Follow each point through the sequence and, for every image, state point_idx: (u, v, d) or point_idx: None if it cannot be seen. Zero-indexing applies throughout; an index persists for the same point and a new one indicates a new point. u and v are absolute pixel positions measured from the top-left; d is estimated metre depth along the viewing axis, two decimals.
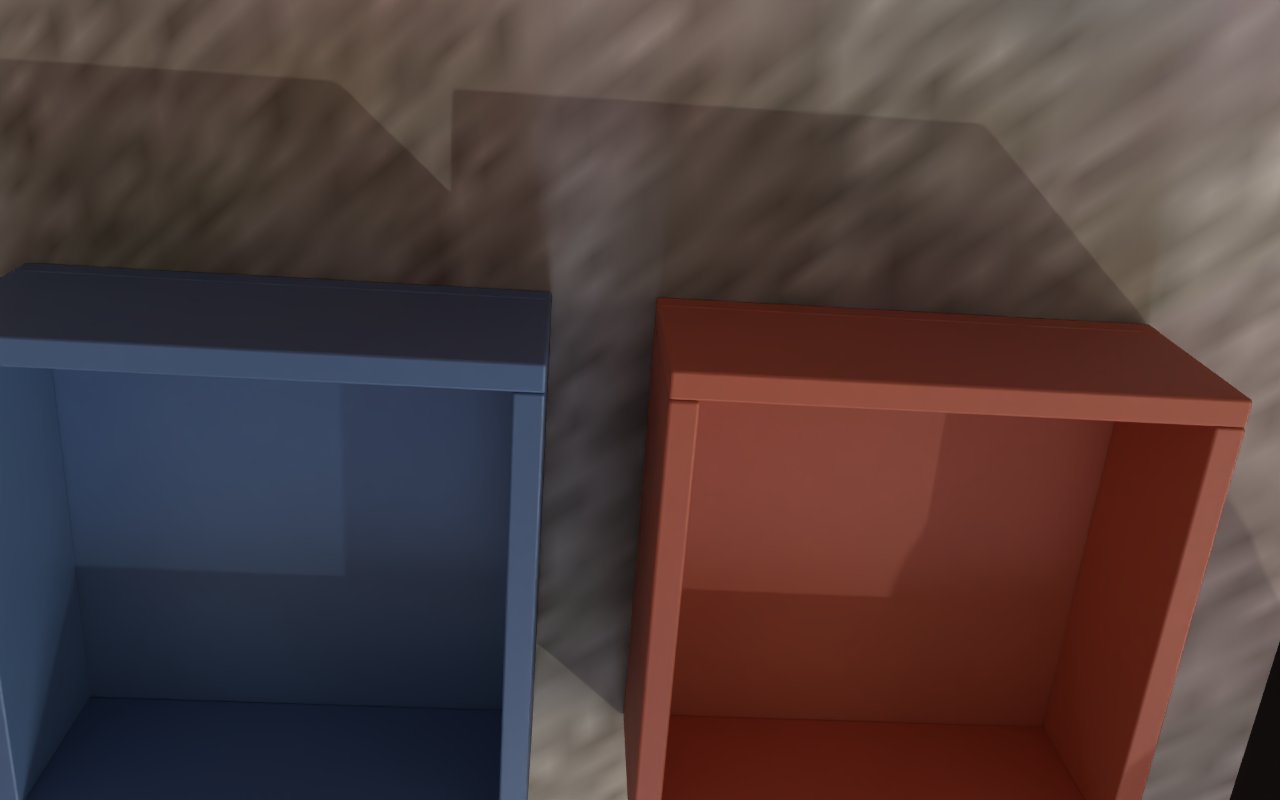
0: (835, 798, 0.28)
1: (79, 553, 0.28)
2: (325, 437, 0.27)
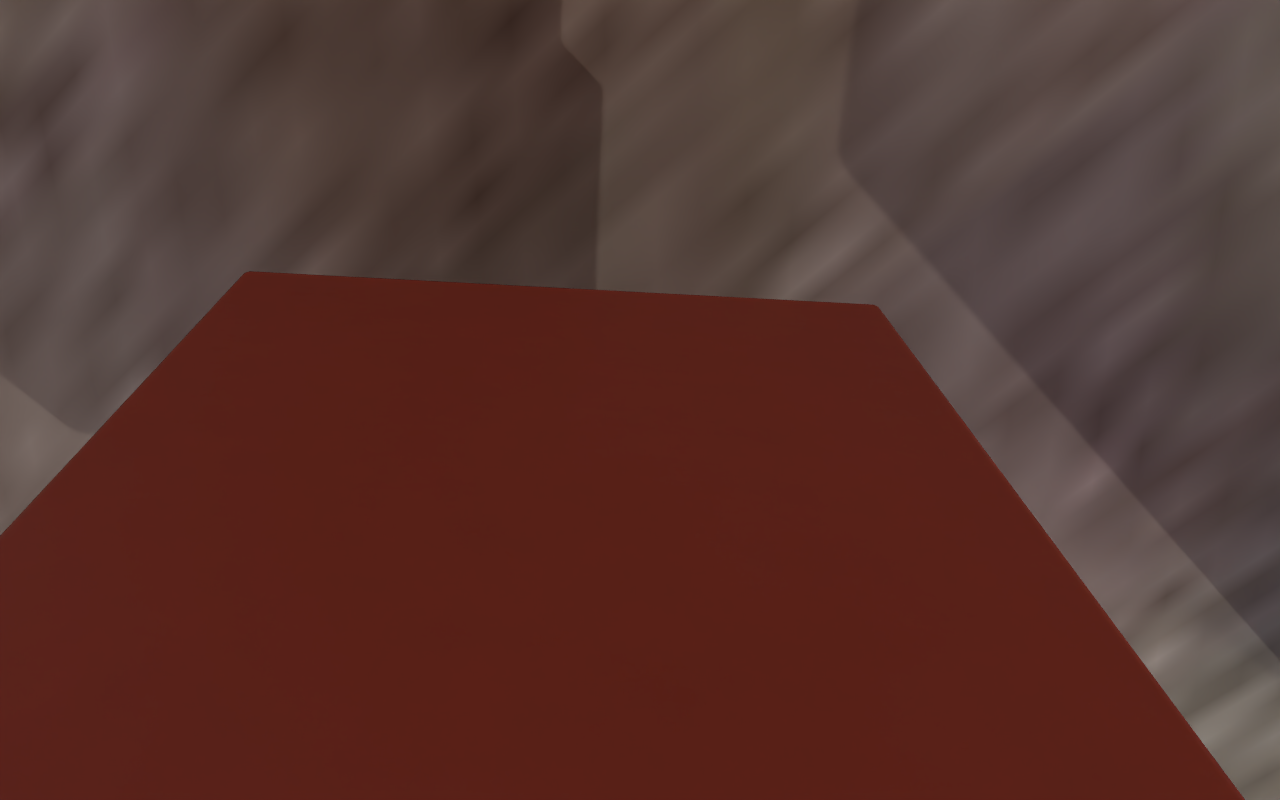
0: None
1: None
2: None
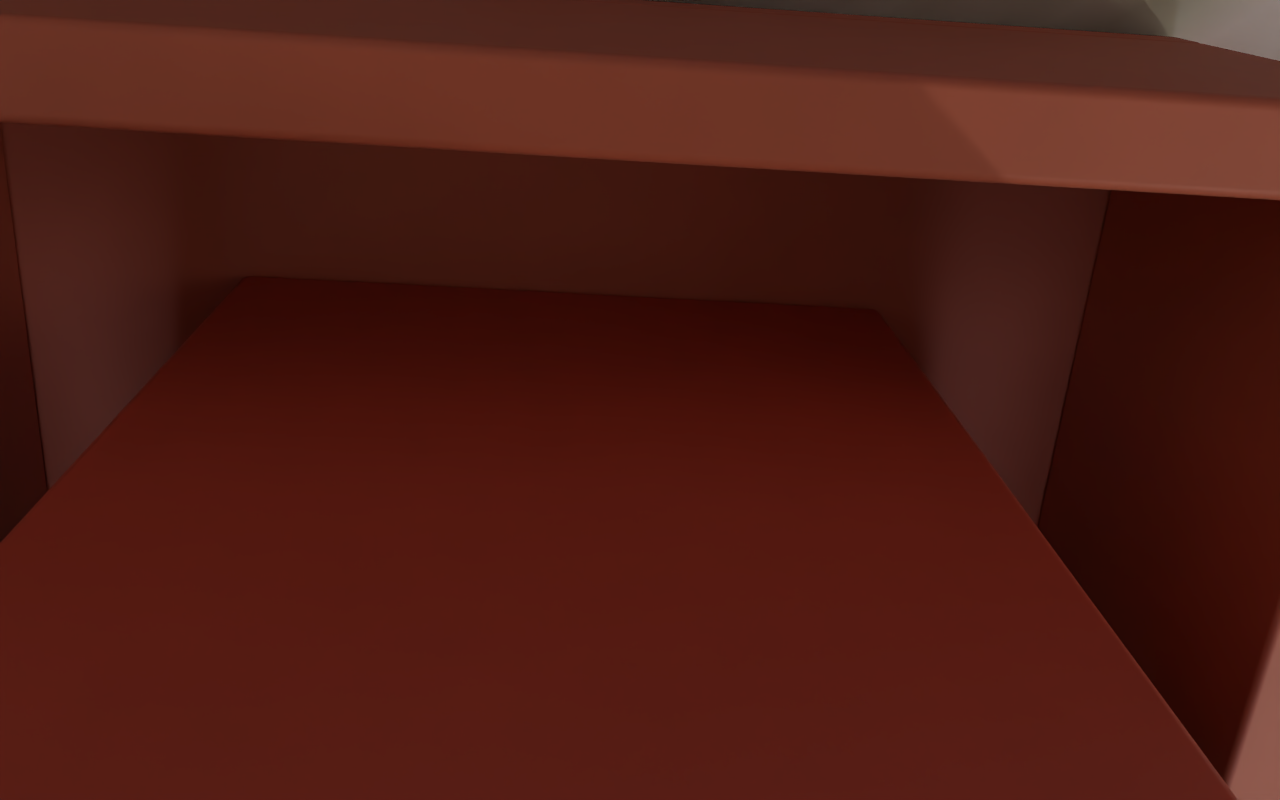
0: None
1: None
2: None
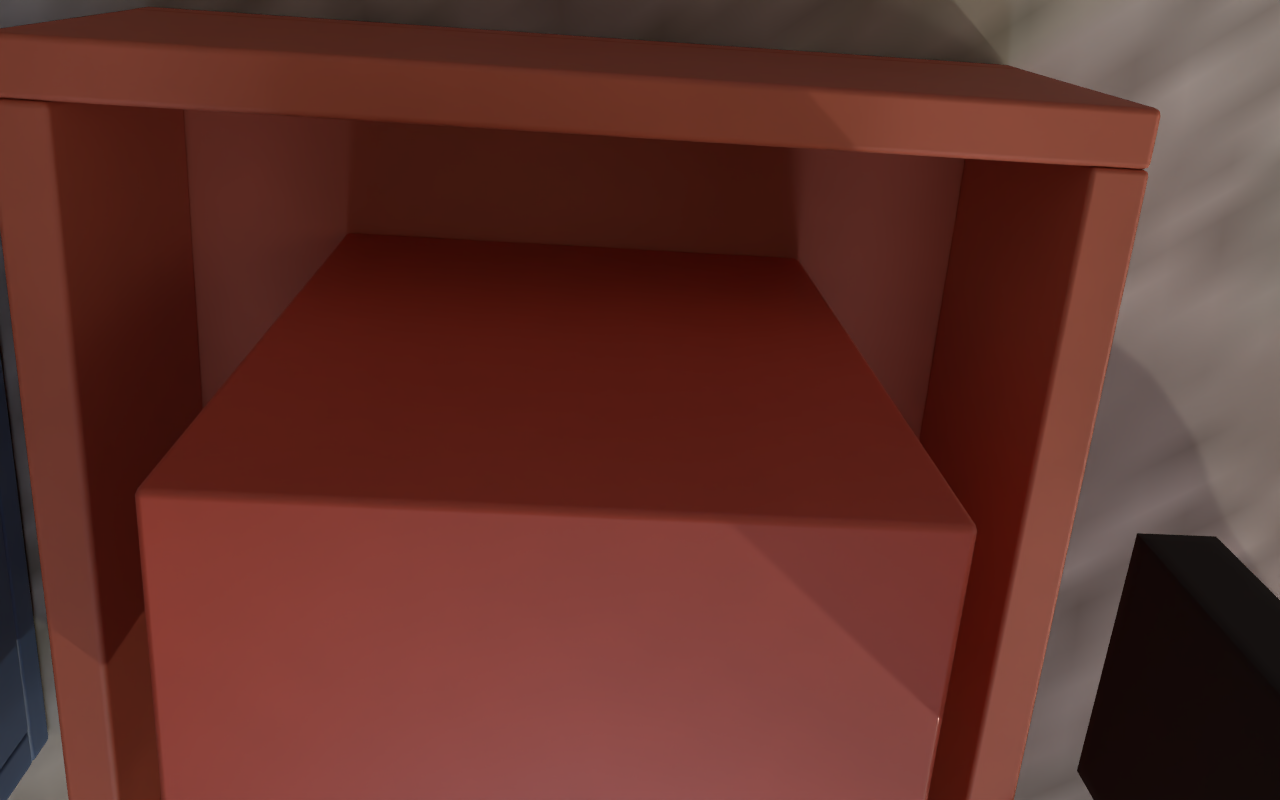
0: None
1: None
2: None
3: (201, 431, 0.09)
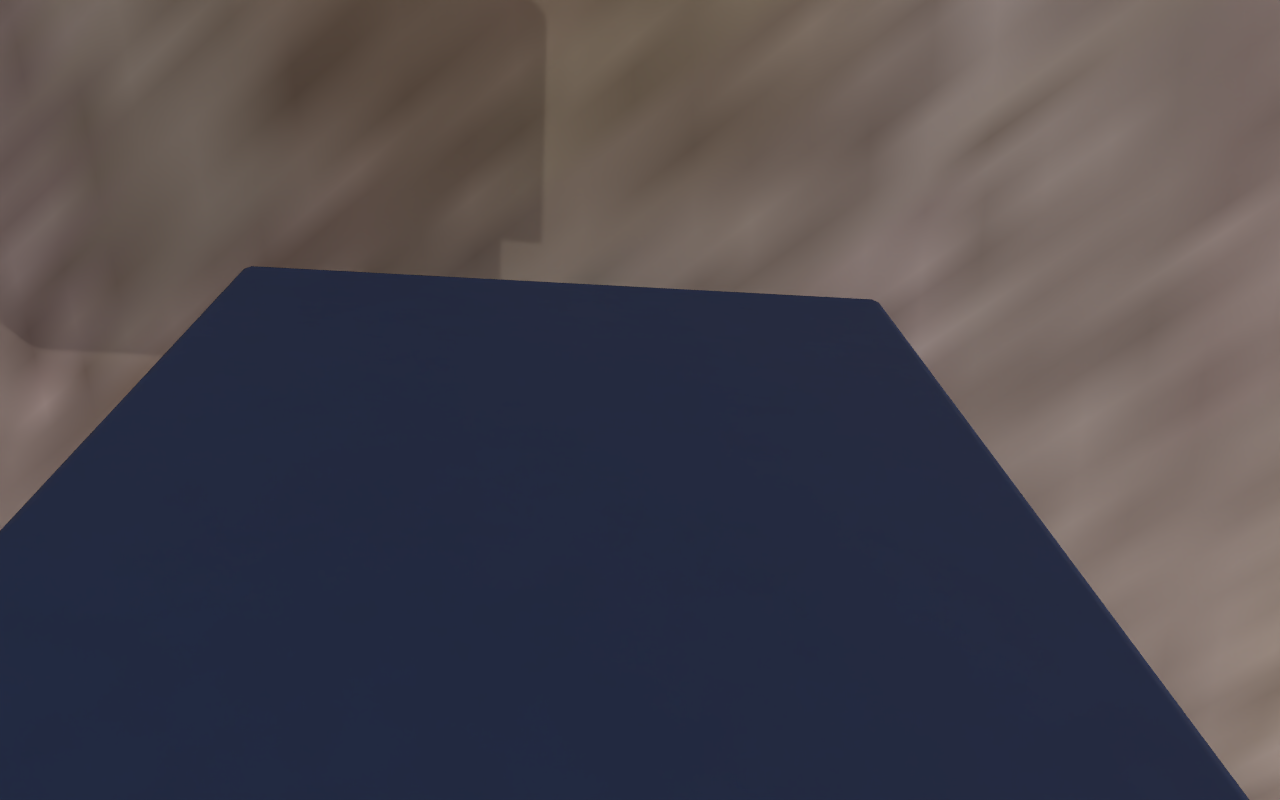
0: None
1: None
2: None
3: None
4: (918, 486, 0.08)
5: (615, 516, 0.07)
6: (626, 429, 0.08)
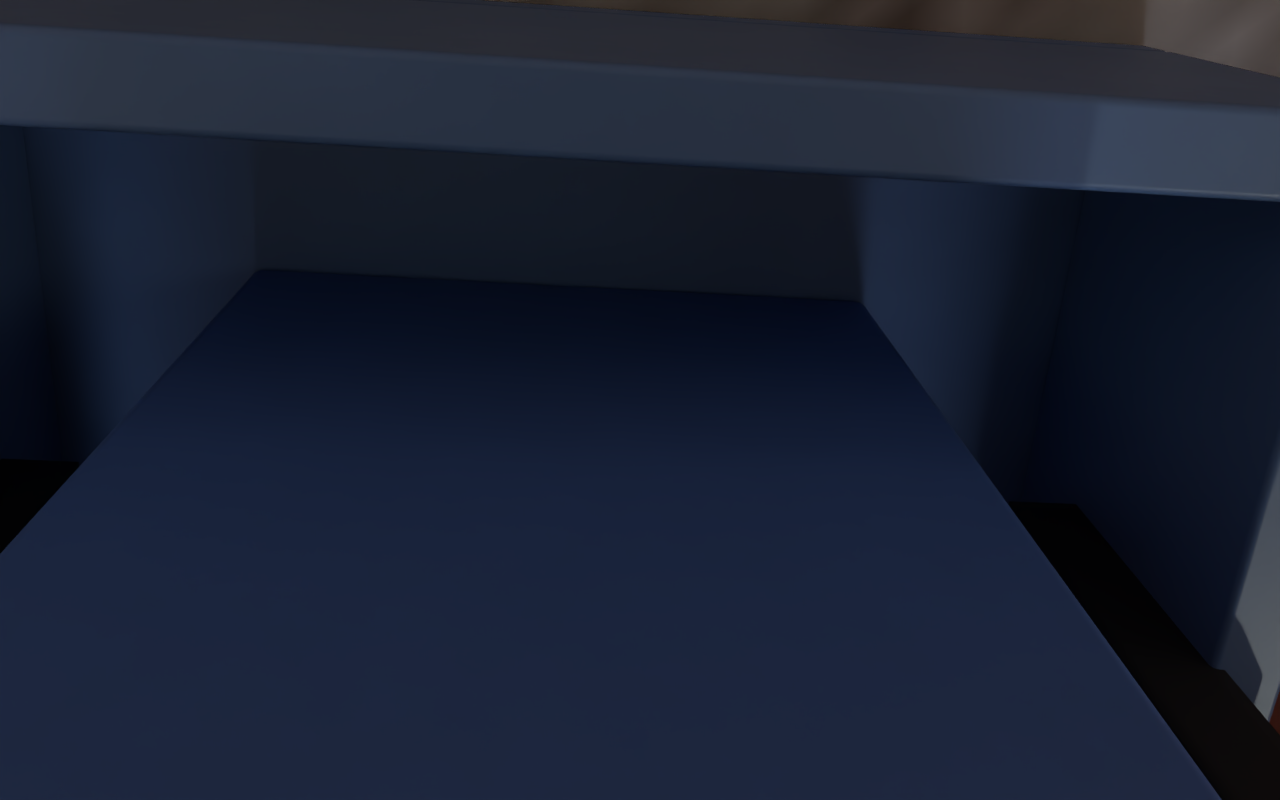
0: None
1: None
2: None
3: None
4: (894, 473, 0.08)
5: (609, 502, 0.08)
6: (619, 423, 0.09)
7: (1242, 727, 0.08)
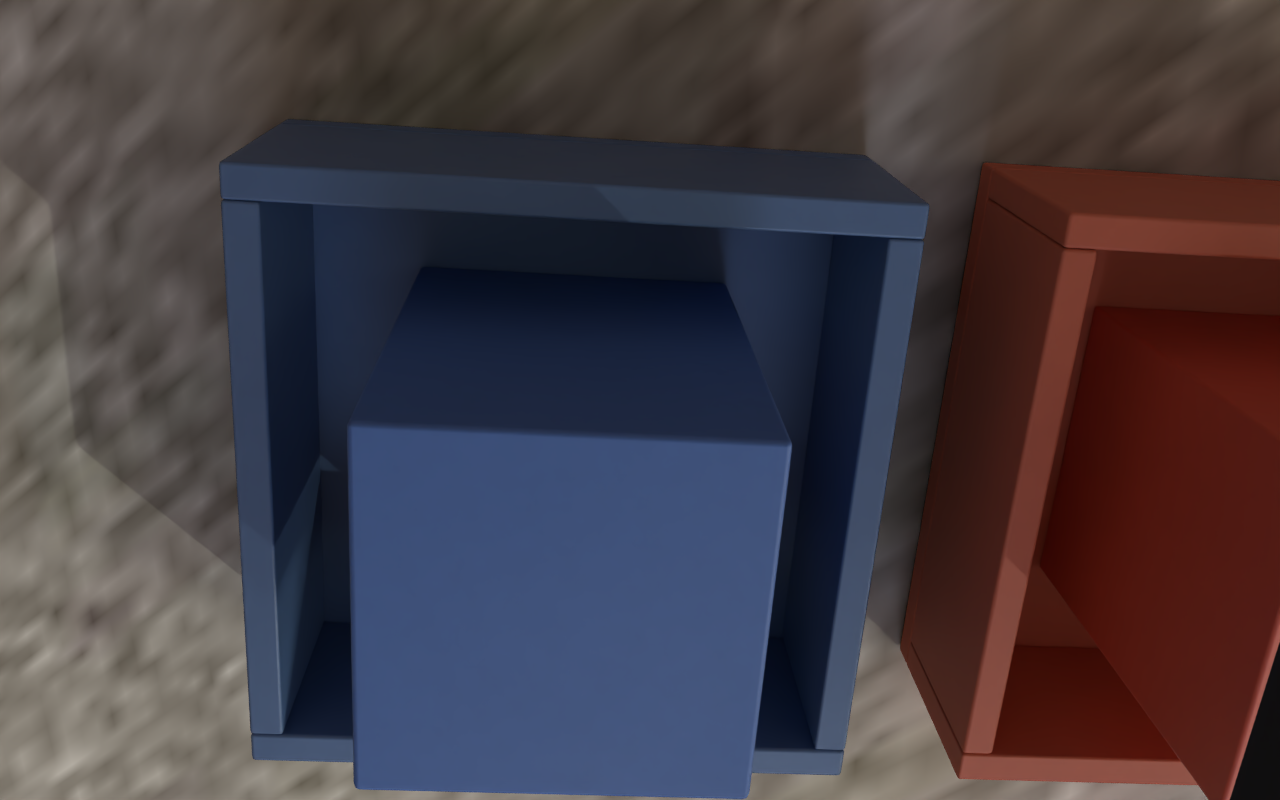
0: None
1: (326, 455, 0.25)
2: None
3: None
4: (712, 347, 0.20)
5: (594, 353, 0.19)
6: (599, 329, 0.20)
7: None
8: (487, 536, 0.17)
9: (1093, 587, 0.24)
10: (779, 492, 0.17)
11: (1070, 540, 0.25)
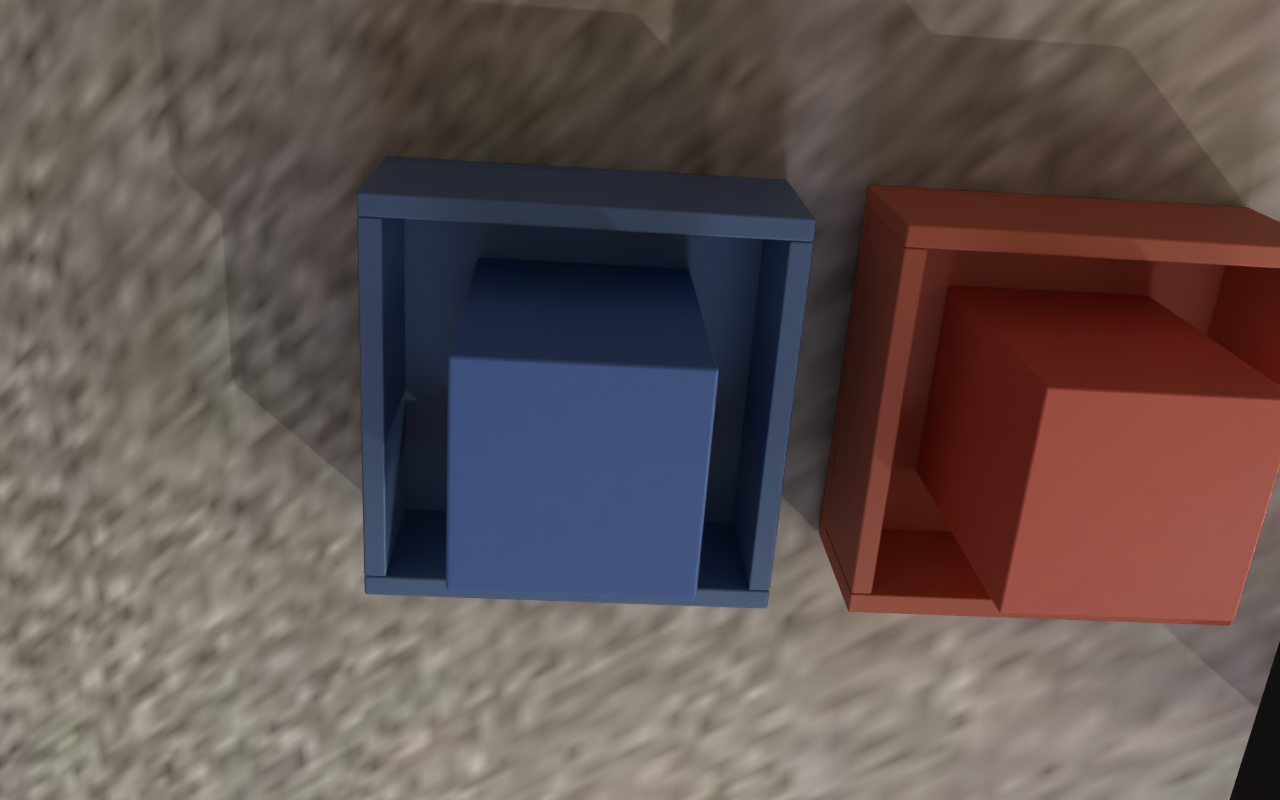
0: None
1: (409, 389, 0.35)
2: None
3: (1036, 370, 0.28)
4: (675, 312, 0.30)
5: (598, 316, 0.30)
6: (601, 300, 0.31)
7: None
8: (532, 426, 0.27)
9: (943, 480, 0.34)
10: (711, 400, 0.27)
11: (932, 450, 0.35)
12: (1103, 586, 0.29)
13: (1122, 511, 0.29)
